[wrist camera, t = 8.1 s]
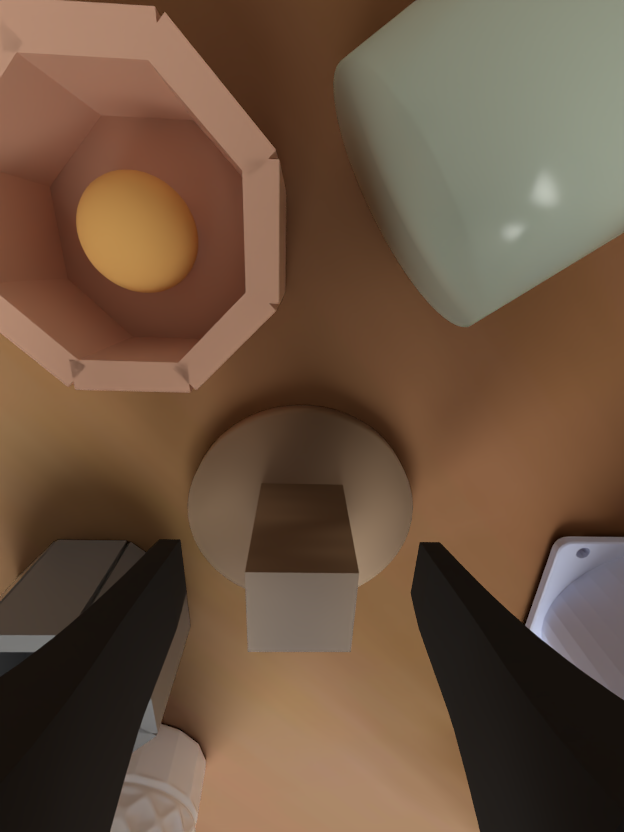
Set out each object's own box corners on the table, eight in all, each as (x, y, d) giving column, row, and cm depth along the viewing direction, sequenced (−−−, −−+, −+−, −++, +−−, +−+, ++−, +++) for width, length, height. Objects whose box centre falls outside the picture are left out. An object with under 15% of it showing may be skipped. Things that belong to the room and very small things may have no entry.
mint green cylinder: (505, -15, 9) (799, -417, 4) (579, 212, 11) (845, 162, 5) (325, 125, 10) (352, -35, 5) (422, 311, 12) (520, 350, 6)
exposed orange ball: (205, 184, 10) (173, 157, 7) (212, 291, 11) (185, 298, 8) (102, 180, 10) (35, 151, 7) (118, 287, 10) (64, 294, 8)
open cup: (287, 99, 9) (279, 13, 6) (284, 359, 12) (278, 395, 9) (15, 84, 9) (-140, -13, 6) (70, 353, 12) (-18, 387, 8)
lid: (419, 405, 13) (484, 484, 8) (392, 581, 16) (429, 711, 11) (186, 399, 13) (119, 477, 8) (203, 579, 16) (161, 712, 11)
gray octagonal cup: (180, 541, 15) (138, 635, 11) (194, 658, 17) (164, 768, 13) (2, 539, 14) (-102, 634, 11) (43, 659, 17) (-30, 770, 13)
